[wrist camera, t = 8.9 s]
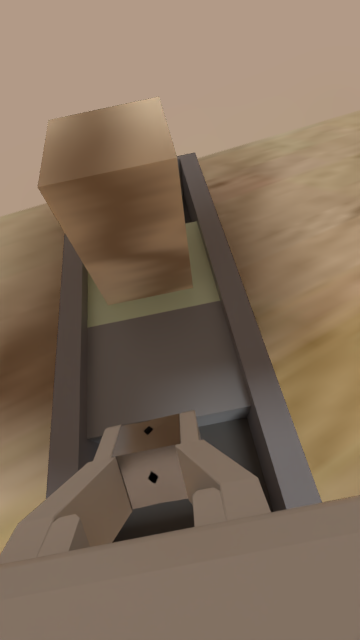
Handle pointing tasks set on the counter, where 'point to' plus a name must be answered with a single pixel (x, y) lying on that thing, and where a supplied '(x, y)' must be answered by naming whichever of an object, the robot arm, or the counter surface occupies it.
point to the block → (119, 198)
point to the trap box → (174, 371)
